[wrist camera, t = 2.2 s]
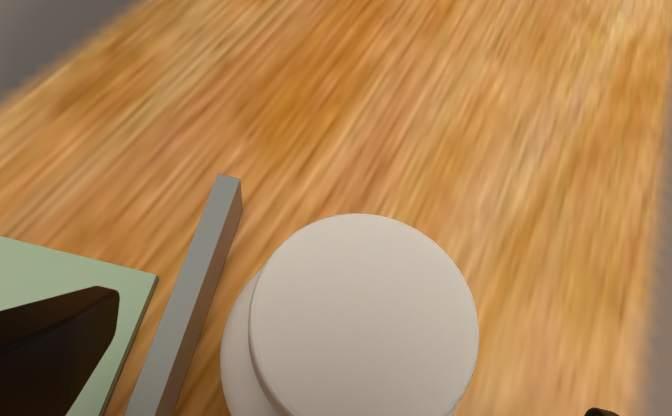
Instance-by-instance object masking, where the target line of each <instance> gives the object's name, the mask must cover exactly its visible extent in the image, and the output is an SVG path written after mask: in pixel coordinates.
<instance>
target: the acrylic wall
mask: <svg viewBox="0 0 672 416" xmlns="http://www.w3.org/2000/svg"><path fill="white" fill-rule="evenodd" d="M242 211H243V208H242V196H241V183H240V179H238V178H234V177H231V176H227V175H223V174H219V173H218V176H217V178H216V181H215V183H214V186H213V188H212V191H211V194H210V196H209V199H208V201H207V204H206V206H205V209H204V211H203V214H202V217H201V219H200V222H199V224H198V227H197V229H196V232H195V234H194V237H193V240H192V242H191V245H190V247H189V250H188V252H187V255H186V258H185V260H184V263H183V265H182V268H181V270H180V273H179V275H178V278H177V281H176V283H175V286H174V288H173V291H172V293H171V296H170V299H169V301H168V304H167V306H166V309H165V311H164V314H163V316H162V319H161V322H160V324H159V327H158V329H157V332H156V334H155V337H154V340H153V342H152V345H151V347H150V350H149V352H148V355H147V357H146V360H145V363H144V365H143V368H142V370H141V373H140V375H139V378H138V381H137V383H136V386H135V388H134V391H133V393H132V396H131V398H130V401H129V404H128V406H127V409H126V411H125V414H124V416H172V414H173V411H174V408H175V405H176V402H177V399H178V396H179V393H180V390H181V388H182V385H183V382H184V379H185V376H186V373H187V370H188V367H189V364H190V361H191V359H192V356H193V353H194V350H195V347H196V344H197V341H198V338H199V335H200V333H201V330H202V327H203V324H204V321H205V318H206V315H207V312H208V309H209V307H210V304H211V301H212V298H213V295H214V292H215V289H216V286H217V283H218V281H219V278H220V275H221V272H222V269H223V266H224V263H225V260H226V257H227V254H228V252H229V249H230V246H231V243H232V240H233V237H234V234H235V231H236V228H237V226H238V223H239V220H240V217H241V214H242Z"/></svg>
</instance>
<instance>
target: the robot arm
mask: <svg viewBox="0 0 672 416" xmlns="http://www.w3.org/2000/svg"><path fill="white" fill-rule="evenodd" d="M119 303H120V295H119V292H118V291H117V290H114V289H110V288H106V287H102V286H92V287H89V288H85V289H81V290H77V291H73V292H70V293H66V294H62V295H58V296H54V297H51V298H47V299H43V300H39V301H36V302H32V303H28V304H24V305H20V306H17V307H13V308H9V309H5V310H1V311H0V416H66V414H67V413H68V411H69V410H70V408H71V407H72V405H73V404H74V402H75V401H76V399H77V397H78V396H79V394H80V393H81V391H82V389H83V388H84V386H85V384H86V383H87V381H88V380H89V378H90V376H91V375H92V373H93V372H94V370H95V368H96V367H97V365H98V363H99V362H100V360H101V359H102V357H103V355H104V354H105V352H106V351H107V349H108V347H109V346H110V344H111V342H112V340H113V338H114V336H115V332H116V327H117V319H118V311H119ZM585 416H619V415H617V414H616V413H614V412H611V411H608V410H603V409H599V408H590V409H589V410H588V411H587V412H586V414H585Z"/></svg>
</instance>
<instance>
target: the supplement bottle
mask: <svg viewBox="0 0 672 416" xmlns="http://www.w3.org/2000/svg"><path fill="white" fill-rule="evenodd" d="M478 350H479V325H478V317H477V312H476V308H475V304H474V300H473V297H472V294H471V292H470V289H469V287H468V285H467V283H466V281H465V279H464V277H463V276H462V274H461V272H460V270H459V269H458V267H457V266H456V265H455V263H454V262H453V260H452V259H451V258H450V257H449V256H448V255H447V253H446V252H445V251H444V250H443V249H442V248H441V247H440V246H438V245H437V244H436V243H435V242H434V241H432V240H431V239H430V238H428V237H427V236H426V235H425V234H423V233H422V232H420V231H418V230H416V229H415V228H413V227H411V226H409V225H407V224H404V223H402V222H400V221H397V220H395V219H391V218H387V217H383V216H379V215H372V214H342V215H336V216H332V217H328V218H324V219H321V220H318V221H315V222H313V223H311V224H309V225H307V226H305V227H303V228H301V229H300V230H298V231H296V232H295V233H294V234H292V235H291V236H290V237H289V238H287V239H286V240H285V241H284V242H283V243H282V244H281V245H280V246H279V247H278V248H277V249H276V250H275V251H274V253H273V254H272V255H271V256H270V258H269V259H268V261H267V262H266V263H265V265H264V267H263V268H261V269H260V270H259V271H258V272H257V273H256V274H255V275H254V276H253V277H252V278H251V279H250V281H249V282H248V283H247V284H246V286H245V287H244V288H243V290H242V291H241V293H240V294H239V296H238V297H237V299H236V301H235V303H234V305H233V307H232V309H231V311H230V314H229V316H228V319H227V322H226V325H225V328H224V332H223V336H222V342H221V350H220V374H221V382H222V388H223V392H224V397H225V401H226V404H227V407H228V410H229V412H230V415H231V416H453V415H454V412H455V409H456V406H457V404H458V402H459V401H460V400H461V398H462V396H463V394H464V393H465V391H466V389H467V387H468V385H469V383H470V381H471V378H472V376H473V372H474V369H475V365H476V361H477V356H478Z"/></svg>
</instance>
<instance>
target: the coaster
mask: <svg viewBox="0 0 672 416" xmlns="http://www.w3.org/2000/svg"><path fill="white" fill-rule="evenodd" d="M158 279H159V278H158V276H157V275H155V274H151V273H147V272H143V271H139V270H135V269H131V268H127V267H123V266H119V265H115V264H111V263H107V262H103V261H99V260H95V259H91V258H87V257H83V256H78V255H74V254H70V253H66V252H62V251H58V250H54V249H50V248H46V247H42V246H38V245H34V244H30V243H26V242H22V241H18V240H14V239H10V238H5V237H1V236H0V311H1V310H5V309H9V308H13V307H17V306H20V305H24V304H28V303H32V302H36V301H39V300H43V299H47V298H51V297H54V296H58V295H62V294H66V293H70V292H73V291H77V290H81V289H85V288H89V287H92V286H102V287H106V288H110V289H114V290H117V291H118V292H119V295H120V303H119V311H118V319H117V327H116V332H115V336H114V338H113V340H112V342H111V344H110V346H109V347H108V349H107V351H106V352H105V354H104V355H103V357H102V359H101V360H100V362H99V363H98V365H97V367H96V368H95V370H94V372H93V373H92V375H91V376H90V378H89V380H88V381H87V383H86V384H85V386H84V388H83V389H82V391H81V393H80V394H79V396H78V397H77V399H76V401H75V402H74V404H73V405H72V407H71V408H70V410H69V411H68V413H67V414H66V416H102V415H103V413H104V411H105V408H106V406H107V403H108V401H109V398H110V396H111V394H112V391H113V389H114V386H115V384H116V381H117V379H118V376H119V374H120V372H121V369H122V367H123V364H124V362H125V359H126V357H127V355H128V352H129V350H130V347H131V345H132V342H133V340H134V337H135V335H136V333H137V330H138V328H139V325H140V323H141V320H142V318H143V316H144V313H145V311H146V308H147V306H148V303H149V301H150V298H151V296H152V294H153V291H154V289H155V286H156V284H157V281H158Z"/></svg>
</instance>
